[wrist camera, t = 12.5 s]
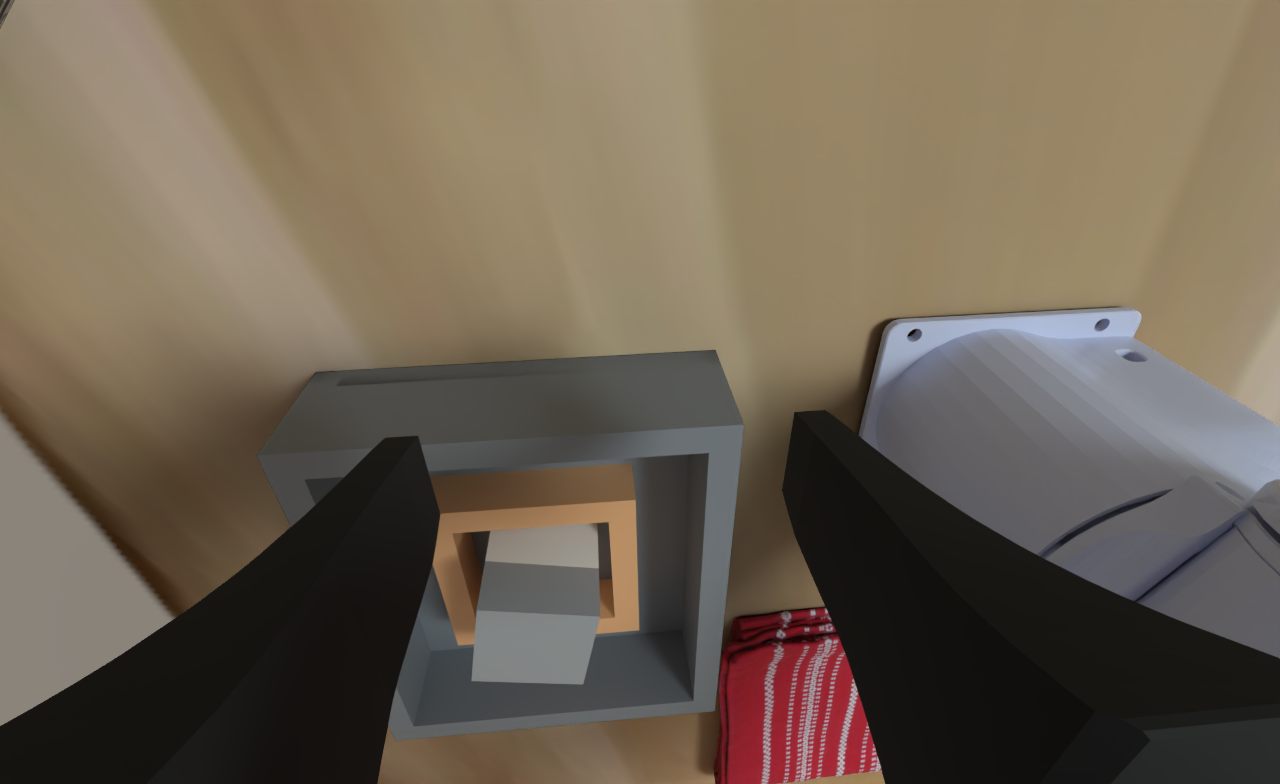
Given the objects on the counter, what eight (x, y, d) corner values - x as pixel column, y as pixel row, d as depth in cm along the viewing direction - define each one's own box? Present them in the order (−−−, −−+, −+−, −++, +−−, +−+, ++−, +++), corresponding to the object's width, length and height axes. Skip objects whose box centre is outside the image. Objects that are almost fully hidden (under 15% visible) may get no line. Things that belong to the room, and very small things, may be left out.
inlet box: (715, 350, 21) (744, 424, 17) (698, 622, 30) (714, 711, 26) (315, 372, 20) (256, 455, 17) (419, 646, 29) (395, 740, 25)
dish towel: (714, 605, 30) (725, 652, 28) (1150, 566, 32) (1192, 608, 29) (704, 765, 40) (711, 810, 38) (1039, 730, 41) (1066, 772, 39)
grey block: (597, 508, 24) (600, 616, 20) (582, 574, 26) (582, 684, 22) (495, 500, 23) (476, 610, 19) (489, 568, 25) (471, 681, 21)
